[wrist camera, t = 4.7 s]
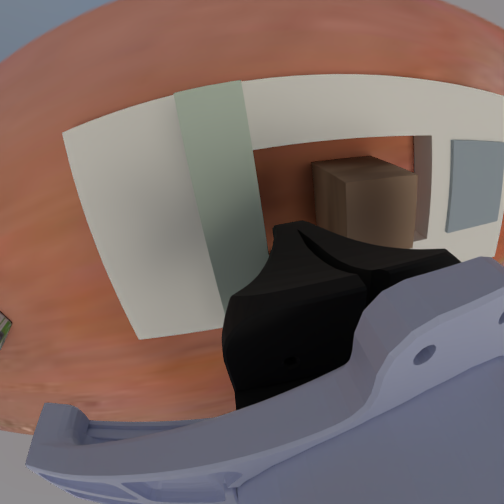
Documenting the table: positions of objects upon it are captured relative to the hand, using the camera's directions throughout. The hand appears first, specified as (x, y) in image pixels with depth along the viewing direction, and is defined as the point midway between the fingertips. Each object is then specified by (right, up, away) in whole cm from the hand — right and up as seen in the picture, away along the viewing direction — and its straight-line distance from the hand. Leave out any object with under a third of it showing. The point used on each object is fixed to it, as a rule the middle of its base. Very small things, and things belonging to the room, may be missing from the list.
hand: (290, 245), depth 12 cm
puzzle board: (+4, +4, +5) cm, 8 cm away
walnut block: (+4, +4, +5) cm, 8 cm away
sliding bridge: (-2, +1, +3) cm, 4 cm away
